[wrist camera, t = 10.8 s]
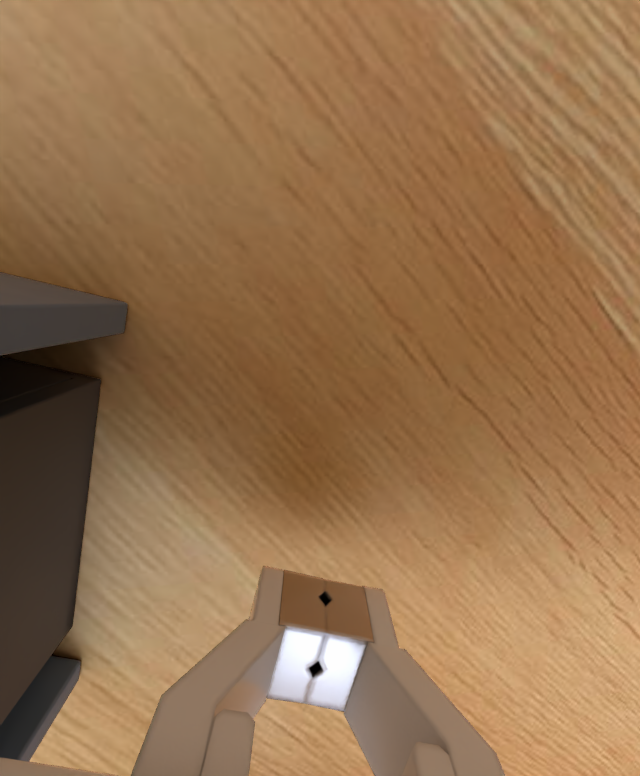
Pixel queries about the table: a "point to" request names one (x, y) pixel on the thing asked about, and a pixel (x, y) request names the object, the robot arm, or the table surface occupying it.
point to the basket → (40, 513)
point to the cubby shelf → (22, 333)
